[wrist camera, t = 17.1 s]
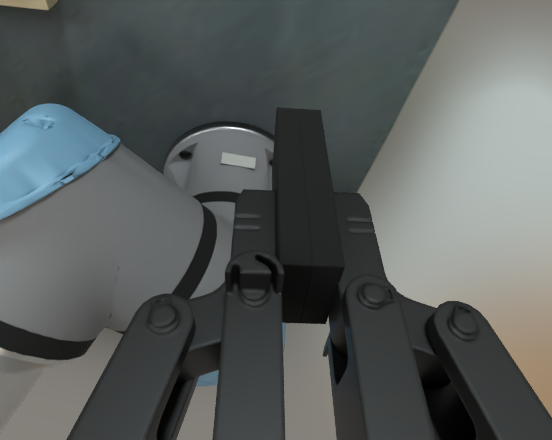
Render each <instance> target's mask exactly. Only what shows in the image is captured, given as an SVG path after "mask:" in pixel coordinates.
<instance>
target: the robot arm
mask: <svg viewBox="0 0 552 440" xmlns="http://www.w3.org/2000/svg"><path fill="white" fill-rule="evenodd" d="M374 232H375V230H374V226H373V222H372V217H371V213H370V209H369V206H368V204H367V203H366V202H365V200H364V199H363V198H362V196H361V195H360V194H359V193H337V192H333V187H332V181H331V174H330V168H329V161H328V155H327V149H326V142H325V136H324V130H323V123H322V117H321V111H320V110H308V109H291V108H277V113H276V125H275V137H274V136H272V135H271V134H269V133H268V132H266V131H264V130H262V129H259V128H257V127H254V126H251V125H247V124H243V123H236V122H215V123H209V124H205V125H202V126H199V127H196V128H194V129H192V130H190V131H188V132H186V133H185V134H184V135H182V136H181V137H180V138H179V139H178V140H177V141H176V142H175V143H174V144H173V146H172V147H171V149H170V151H169V152H168V155H167V158H166V161H165V165H164V170H163V174H161V173H160V172H159V171H157V170H156V169H154V168H153V167H152V166H150V165H149V164H148V163H146V162H145V161H144V160H142V159H141V158H140V157H138V156H137V155H136V154H134V153H133V152H132V151H130V150H129V149H128V148H126V147H125V146H124V145H122V144H121V143H120V139H119V138H118V137H116V136H115V135H112V134H107V133H106V132H104V131H103V130H101V129H100V128H98V127H97V126H95V125H94V124H92V123H91V122H89V121H88V120H86V119H85V118H83V117H82V116H81V115H79V114H78V113H76V112H75V111H73V110H71V109H70V108H68V107H65V106H63V105H59V104H41V105H37V106H35V107H33V108H31V109H29V110H28V111H27V112H25V113H24V114H23V115H21V116H20V117H19V118H18V119H17V120H15V121H14V122H13V123H12V124H11V125H10V126H8V127H7V128H6V129H5V130H4V131H3V132H2V133H0V433H1V432H2V430H3V429H4V427H5V426H6V425H7V423H8V422H9V420H10V419H11V418H12V416H13V415H14V413H15V412H16V411H17V409H18V408H19V406H20V405H21V404H22V402H23V401H24V399H25V398H26V397H27V395H28V394H29V392H30V391H31V390H32V388H33V387H34V385H35V384H36V383H37V381H38V380H39V378H40V377H41V376H42V374H43V373H44V371H45V370H46V369H48V368H53V367H57V366H61V365H65V364H69V363H73V362H76V361H77V360H79V359H80V358H81V357H83V356H84V354H85V353H86V352H87V350H88V349H89V347H90V346H91V344H92V343H93V342H94V340H95V339H96V337H97V336H98V335H99V333H100V332H101V331H102V330H103V329H104V328H108V329H111V330H114V331H116V332H119V333H121V334H123V336H122V338H121V340H120V342H119V344H118V346H117V348H116V349H115V351H114V353H113V355H112V357H111V359H110V361H109V362H108V364H107V366H106V368H105V370H104V372H103V373H102V375H101V377H100V379H99V381H98V383H97V384H96V386H95V388H94V390H93V392H92V394H91V395H90V397H89V399H88V401H87V403H86V405H85V407H84V408H83V410H82V412H81V414H80V416H79V418H78V420H77V421H76V423H75V425H74V427H73V429H72V431H71V432H70V434H69V436H68V438H67V440H176V438H177V436H178V433H179V430H180V428H181V425H182V422H183V420H184V417H185V414H186V412H187V409H188V406H189V403H190V400H191V398H192V395H193V392H194V390H195V387H196V386H212V385H217V397H216V407H215V419H214V420H215V421H214V430H213V440H285V413H284V371H283V351H284V343H285V325H286V323H311V324H312V323H313V324H326V321H327V318H328V315H329V324H330V333H329V336H328V339H327V341H326V344H325V347H324V351H323V356H327V355H328V356H329V365H330V376H331V385H332V396H333V406H334V416H335V426H336V436H337V440H552V418H551V416H550V414H549V413H548V411H547V410H546V408H545V407H544V405H543V404H542V402H541V401H540V400H539V398H538V396H537V395H536V393H535V392H534V390H533V389H532V387H531V386H530V384H529V383H528V381H527V380H526V378H525V377H524V375H523V374H522V372H521V371H520V369H519V368H518V366H517V365H516V363H515V362H514V360H513V359H512V357H511V356H510V354H509V353H508V351H507V350H506V348H505V347H504V345H503V344H502V342H501V341H500V339H499V338H498V336H497V335H496V333H495V332H494V330H493V329H492V327H491V326H490V324H489V323H488V321H487V320H486V319H485V318H484V316H483V315H482V314H481V313H480V312H479V311H478V310H476V309H474V308H473V307H472V306H470V305H468V304H465V303H462V302H459V301H447V302H445V303H443V304H440V305H439V306H438V308H435V307H431V306H428V305H425V304H422V303H419V302H416V301H413V300H411V299H408V298H406V297H404V296H403V295H401V294H400V293H398V292H397V291H396V289H395V288H394V286H393V285H391V284H390V282H389V281H388V280H387V278H386V275H385V272H384V267H383V264H382V259H381V255H380V251H379V246H378V243H377V238H376V234H375V233H374Z"/></svg>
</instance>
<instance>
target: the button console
mask: <svg viewBox="0 0 552 440" xmlns="http://www.w3.org/2000/svg"><path fill="white" fill-rule="evenodd" d="M58 1H59V0H0V5H4V6H13V7H22V8H31V9H40V10H49V9H51V8H52V7H53V6H54V5H55V4H56V3H57V2H58Z"/></svg>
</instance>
